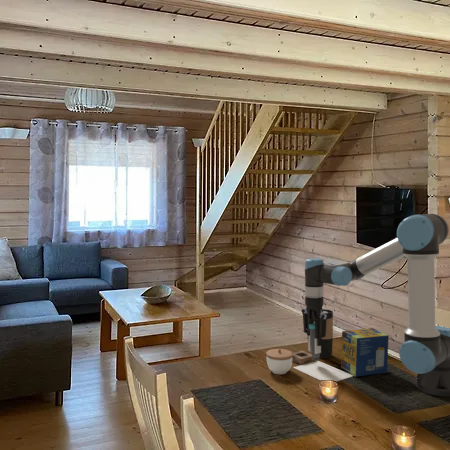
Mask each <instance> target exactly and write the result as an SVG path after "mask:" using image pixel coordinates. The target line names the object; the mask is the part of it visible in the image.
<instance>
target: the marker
mask: <svg viewBox="0 0 450 450" xmlns="http://www.w3.org/2000/svg"><path fill="white" fill-rule="evenodd" d="M309 329H310V338H311V349H312V351H311V354H312V357H313V358H314V360H315V361H319V359H320V358H319V357H320V353H318V354H315V337H316V331H315V322H314V323H311V324H309Z"/></svg>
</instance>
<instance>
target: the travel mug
mask: <svg viewBox="0 0 450 450" xmlns="http://www.w3.org/2000/svg"><path fill="white" fill-rule="evenodd" d="M322 310H323V313H324V314H327V315H328V317H327V321H326V337H323V338H322V345H321V353H320V357H319V359H330V358H332V357H333V344H334V343H333V341H334V332H333V331H334V311H333V310H331V309H325V308H322Z"/></svg>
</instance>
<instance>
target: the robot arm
mask: <svg viewBox="0 0 450 450" xmlns="http://www.w3.org/2000/svg"><path fill="white" fill-rule="evenodd" d="M449 231H450V229H449V224H448V223H447V221H446V220H445V219H444V218H443V216H441V215H439V214H436V213H424V214H413V215H410V216H408V217H406V218H404V219H403V220H402V221H401V222H400V223H399V224H398V227H397V229H396V237H395V238H393V239H391V240H390V241H388V242H386V243H384V244H382V245H380V246H379V247H376V248H374V249H372V250H370V251H369V252H367V253H365V254H363V255H360V256H359V257H358V258H355V259H354V260H351V261H349V262H346V263H342V264H337V265H334V264H333V265H329V264H324V260H323V258H320V257H319V258H316V257H315V258H307V259H306V260H305V262H304V279H305V280H304V295H305V297H304V303H305V304H304V305H305V306H306V307H305V308H303V309H301V313H302V324H303V333H305V334H306V335H307V343H308V345H307V346H308V350H307V351H308V353H310V352H312V349H311V338H310V329H309V324H311V323H315V331H316V337H315V354H318V353H321V345H322V338H323V337H326V321H327V317H328V315H327V314H324V313H323V310H322V309H323V306H324V301H325V300H324V284H328V285H335V286H339V287H340V286H343V287H345V286H348V285H349V284H351V282H352V281H358V280H361V279H363V278H364V277H365V276H366V275H368V274H370V273H372V272H374V271H377V270H378V269H381V268H383V267H386V266H388V265H389V264H392V263H394V262H396V261H397V260H399V259H402V258H404V257H406V259H407V294H408V295H407V296H408V297H407V301H408V302H407V304H408V305H407V306H408V307H407V308H408V309H407V310H408V326H407V328H405V330H404V331H403V332H404V333H403V336H404V337H403V338H404V340H403V341H404V342H403V343H402V344H401V346H400V348H399V351H398V356H399V358H400V361H401V363H402V364H403V366H405V368H406V369H408V371H410V372H411V373H415V374H416V378H415V387H416V388H417V390H419V391H420V392H422V393H425V394H426V395H430V396H431V395H432V396H437V397H446V398H447V397H450V327H447V326H441V325H436V295H435V294H436V292H435V291H436V289H435V287H436V286H435V285H436V281H435V280H436V279H435V259H436V258H437V257H438V256H439V255H440V245H441V244H443V243H444V242H445V241H446V239H447V238H448V235H449Z"/></svg>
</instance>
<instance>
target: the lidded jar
mask: <svg viewBox="0 0 450 450" xmlns="http://www.w3.org/2000/svg"><path fill="white" fill-rule="evenodd" d="M293 353H294V352H292V351H291V350H289V349H285V348H272V349H269V350H267V351H266V352H265V355H266V356H265V357H266V363H267V367H268V369H269V370H270V371H271V373H273V374H275V375H286V374H287V373H288V372H289V370H290V369H291V367H292V365H293Z"/></svg>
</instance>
